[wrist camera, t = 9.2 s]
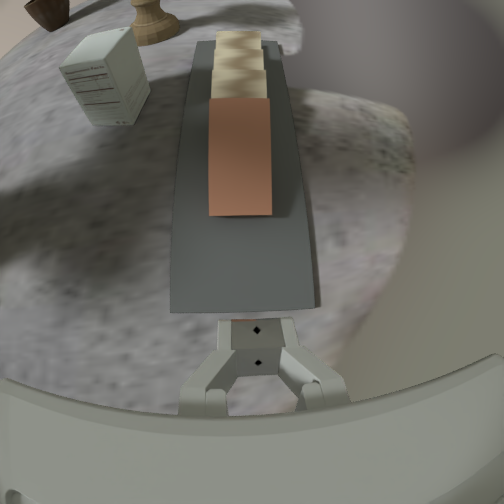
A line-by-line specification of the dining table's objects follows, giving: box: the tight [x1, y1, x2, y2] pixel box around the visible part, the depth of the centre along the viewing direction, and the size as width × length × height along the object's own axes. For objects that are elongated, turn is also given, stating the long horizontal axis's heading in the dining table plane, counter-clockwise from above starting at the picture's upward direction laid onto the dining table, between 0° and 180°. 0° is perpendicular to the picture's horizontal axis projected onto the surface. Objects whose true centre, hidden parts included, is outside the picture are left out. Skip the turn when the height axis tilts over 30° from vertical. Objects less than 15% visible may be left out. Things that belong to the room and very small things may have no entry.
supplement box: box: [59, 27, 151, 126], centre depth 26 cm, size 7×7×13 cm
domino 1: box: [216, 31, 261, 49], centre depth 30 cm, size 6×2×12 cm
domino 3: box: [211, 69, 267, 98], centre depth 27 cm, size 6×2×12 cm
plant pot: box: [24, 0, 69, 32], centre depth 35 cm, size 15×15×16 cm
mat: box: [170, 40, 315, 313], centre depth 31 cm, size 14×44×1 cm, turn 2°
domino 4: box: [208, 98, 272, 216], centre depth 26 cm, size 6×2×12 cm
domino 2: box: [214, 49, 264, 70], centre depth 28 cm, size 6×2×12 cm
